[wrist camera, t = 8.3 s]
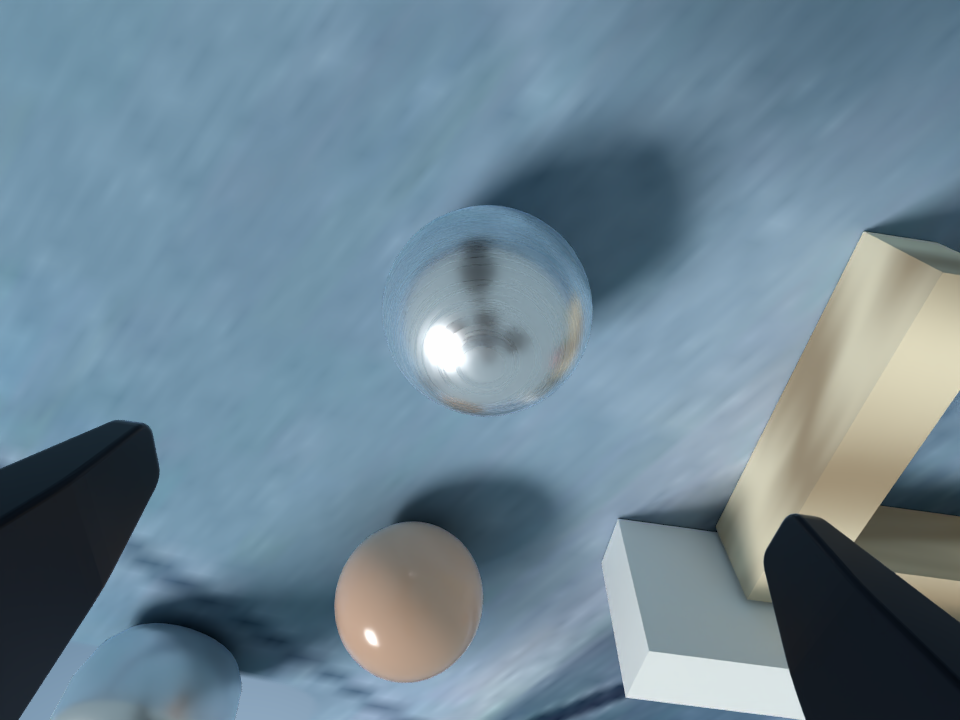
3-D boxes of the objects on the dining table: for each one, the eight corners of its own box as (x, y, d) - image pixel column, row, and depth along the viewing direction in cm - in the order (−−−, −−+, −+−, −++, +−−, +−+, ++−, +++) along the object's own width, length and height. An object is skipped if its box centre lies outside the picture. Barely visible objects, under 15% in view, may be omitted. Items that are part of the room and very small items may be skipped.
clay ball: (356, 482, 20) (313, 607, 15) (495, 501, 20) (492, 630, 15) (352, 575, 22) (315, 704, 18) (476, 591, 22) (468, 723, 18)
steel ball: (408, 169, 14) (364, 224, 10) (599, 199, 14) (639, 267, 10) (395, 339, 17) (356, 444, 12) (558, 363, 17) (576, 474, 12)
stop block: (618, 518, 20) (649, 651, 15) (1090, 583, 20) (1247, 728, 16) (601, 563, 21) (625, 697, 17) (1047, 622, 22) (1183, 767, 17)
